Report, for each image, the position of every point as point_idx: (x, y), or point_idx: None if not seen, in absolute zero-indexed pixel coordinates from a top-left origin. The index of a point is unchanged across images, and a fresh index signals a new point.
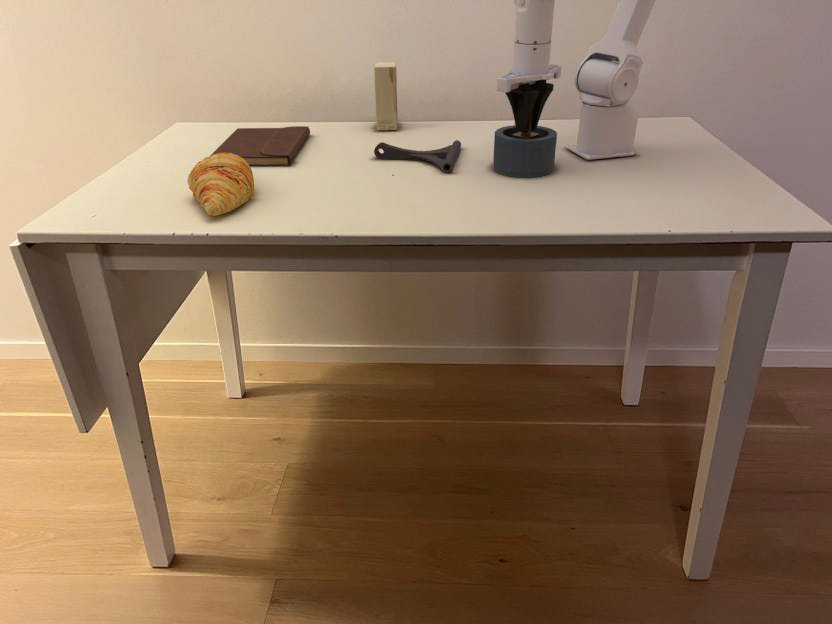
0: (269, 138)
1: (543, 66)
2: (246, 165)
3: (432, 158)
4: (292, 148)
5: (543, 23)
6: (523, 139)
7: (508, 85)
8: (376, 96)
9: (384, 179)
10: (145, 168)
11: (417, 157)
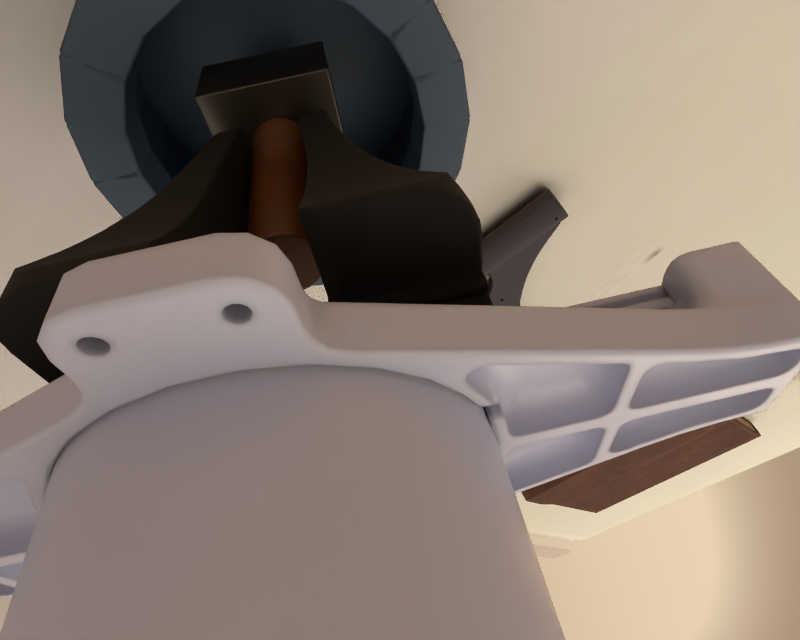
0: (631, 471)
1: (262, 487)
2: None
3: (511, 291)
4: None
5: None
6: (405, 31)
7: (758, 289)
8: None
9: (696, 240)
10: (792, 437)
11: None
